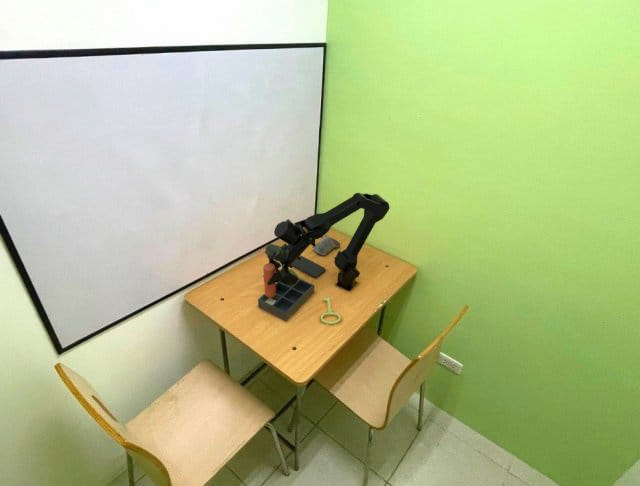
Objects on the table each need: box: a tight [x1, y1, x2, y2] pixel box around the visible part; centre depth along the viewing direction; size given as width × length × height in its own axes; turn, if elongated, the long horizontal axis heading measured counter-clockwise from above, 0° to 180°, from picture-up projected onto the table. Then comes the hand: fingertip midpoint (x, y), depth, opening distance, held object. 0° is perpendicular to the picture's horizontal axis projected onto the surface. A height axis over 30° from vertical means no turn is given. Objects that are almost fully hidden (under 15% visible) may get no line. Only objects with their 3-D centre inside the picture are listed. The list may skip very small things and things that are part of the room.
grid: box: [257, 278, 315, 322], centre depth 141 cm, size 13×19×4 cm
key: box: [320, 296, 342, 325], centre depth 137 cm, size 7×12×2 cm, turn 23°
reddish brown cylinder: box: [262, 262, 277, 297], centre depth 131 cm, size 4×4×12 cm
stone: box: [312, 234, 341, 256], centre depth 168 cm, size 12×5×10 cm
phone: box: [292, 255, 326, 279], centre depth 158 cm, size 7×1×15 cm
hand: (266, 280), depth 131 cm, fingers closed on reddish brown cylinder, 4 cm apart
